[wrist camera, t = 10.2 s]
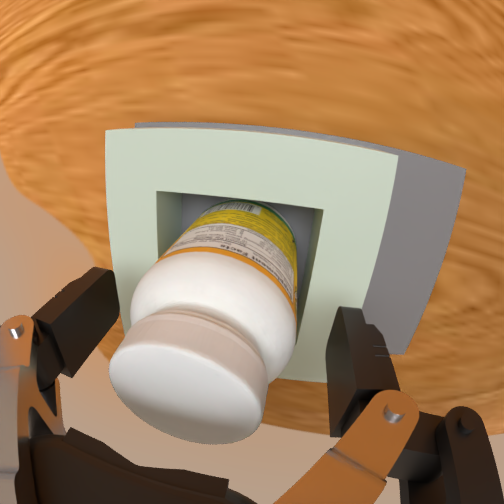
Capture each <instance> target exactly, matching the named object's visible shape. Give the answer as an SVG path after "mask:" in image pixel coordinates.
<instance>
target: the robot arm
mask: <svg viewBox="0 0 504 504" xmlns="http://www.w3.org/2000/svg"><path fill="white" fill-rule="evenodd" d="M119 312H120V304H119V298H118V292H117V286H116V279H115V274H114V272H113V271H112V270H108V269H103V268H98V267H93V268H91V269H90V270H89V271H88V272H87V273H85V274H84V275H83V276H82V277H81V278H79V279H76V280H74V281H72V282H70V283H69V284H68V285H67V286H65V287H64V288H63V289H62V291H61V292H58V293H57V294H56V295H55V297H53V298H52V299H51V300H49V301H48V302H47V303H46V304H45V305H44V306H43V307H42V308H41V309H39V310H38V311H37V312H36V313H35V314H34V315H33V316H32V317H31V318H30V317H28V316H25V315H18V316H14V317H12V318H10V319H8V320H6V321H5V322H4V323H3V324H2V325H1V326H0V504H257V503H256V502H254V501H252V500H251V499H249V498H248V497H246V496H244V495H242V494H240V493H238V492H236V491H233V490H231V489H229V488H228V482H229V479H224V478H219V477H214V476H209V475H205V474H200V473H195V472H191V471H187V470H180V469H163V468H152V467H143V466H138V465H135V464H133V463H132V462H130V461H129V460H127V459H126V458H124V457H123V456H122V455H120V454H118V453H117V452H116V451H114V450H113V449H111V448H110V447H109V446H107V445H106V444H105V443H103V442H101V441H99V440H97V439H95V438H92V437H90V436H88V435H86V434H84V433H82V432H80V431H78V430H75V429H73V428H71V427H70V429H69V430H68V432H67V433H66V431H65V428H64V425H63V418H62V409H61V397H60V384H59V380H58V378H57V376H58V375H59V374H60V373H62V374H64V375H66V376H68V377H71V378H73V376H74V375H75V374H76V372H77V371H78V370H79V368H80V367H81V366H82V364H83V363H84V362H85V360H86V359H87V358H88V356H89V355H90V354H91V353H92V351H93V350H94V349H95V347H96V346H97V345H98V344H99V342H100V341H101V340H102V338H103V337H104V336H105V335H106V333H107V332H108V331H109V330H110V328H111V327H112V326H113V325H114V323H115V322H116V321H117V319H118V316H119ZM325 361H326V374H327V388H328V403H329V422H330V437H341V439H340V440H339V441H338V443H337V444H336V445H335V446H334V447H333V448H332V449H331V448H330V449H329V450H328V451H327V452H326V453H325V454H324V455H323V456H322V457H321V458H320V459H319V460H318V461H317V462H316V463H315V465H314V466H313V467H312V468H311V469H310V470H309V471H308V472H307V473H306V474H305V475H304V476H303V477H302V478H301V479H300V480H298V482H296V483H295V484H294V485H293V486H292V487H291V488H290V489H289V490H288V491H287V492H286V493H285V494H284V495H282V496H281V497H280V498H279V499H278V500H277V501H276V502H274V503H273V504H374V502H375V501H376V500H377V498H378V497H379V495H380V494H381V492H382V491H383V489H384V487H385V485H386V483H387V481H386V480H385V478H386V476H388V477H392V478H397V479H399V483H400V500H401V504H504V498H503V493H502V488H501V483H500V479H499V475H498V471H497V466H496V463H495V459H494V455H493V452H492V448H491V445H490V442H489V438H488V435H487V432H486V429H485V426H484V423H483V421H482V419H481V417H480V416H479V415H478V414H477V413H476V412H475V411H474V410H472V409H470V408H468V407H464V406H459V407H455V408H453V409H451V410H450V411H449V412H448V413H447V415H446V416H445V417H441V416H437V415H432V414H428V413H424V412H420V411H419V409H418V406H417V404H416V403H415V401H414V400H413V399H412V398H411V397H410V396H408V395H407V394H405V393H403V392H401V391H400V387H399V384H398V381H397V377H396V374H395V371H394V367H393V364H392V361H391V358H389V352H388V349H387V348H386V343H385V340H384V337H383V334H382V333H381V332H380V331H379V330H378V329H377V328H376V326H375V325H374V324H366V321H365V318H364V315H363V312H362V309H361V308H353V307H344V306H339V307H338V309H337V312H336V315H335V318H334V322H333V325H332V328H331V332H330V335H329V338H328V341H327V346H326V353H325Z"/></svg>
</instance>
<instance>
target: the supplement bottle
mask: <svg viewBox="0 0 504 504" xmlns="http://www.w3.org/2000/svg"><path fill="white" fill-rule="evenodd" d="M130 320H131V326H132V327H131V328H130V329H129V330H128V332H127V334H126V336H125V338H124V339H123V341H122V342H121V344H120V345H119V347H118V348H117V350H116V352H115V353H114V355H113V356H112V358H111V361H110V364H109V377H110V380H111V383H112V386H113V388H114V390H115V392H116V393H117V395H118V397H119V398H120V399H121V400H122V402H123V403H124V404H125V405H126V406H127V407H128V408H129V409H130V410H131V411H132V412H133V413H134V414H136V415H137V416H138V417H139V418H140V419H142V420H143V421H145V422H146V423H148V424H149V425H151V426H153V427H155V428H156V429H158V430H160V431H162V432H164V433H167V434H169V435H171V436H174V437H177V438H180V439H184V440H187V441H191V442H195V443H202V444H227V443H233V442H237V441H240V440H243V439H245V438H247V437H248V436H250V435H251V434H253V433H254V432H255V430H257V428H258V427H259V425H260V423H261V421H262V417H263V413H264V408H265V403H266V396H267V392H268V384H269V383H271V382H272V381H273V380H275V379H276V378H277V377H278V376H279V375H280V374H281V373H282V371H283V370H284V369H285V367H286V366H287V364H288V362H289V361H290V359H291V356H292V354H293V350H294V347H295V341H296V330H297V246H296V240H295V235H294V233H293V230H292V228H291V227H290V225H289V223H288V222H287V220H286V219H285V218H284V217H283V216H282V215H281V214H280V213H279V212H278V211H277V210H275V209H274V208H273V207H271V206H269V205H268V204H265V203H263V202H261V201H257V200H249V199H240V198H232V199H227V200H224V201H221V202H219V203H216V204H214V205H213V206H211V207H210V208H208V209H207V210H206V211H205V212H203V213H202V214H201V215H200V217H199V218H198V219H197V220H196V221H195V222H194V223H193V224H192V225H191V226H190V227H189V228H188V229H187V230H186V231H185V232H184V233H183V234H182V235H181V236H180V237H179V238H178V239H177V240H176V241H175V242H174V243H173V245H172V246H171V247H170V248H169V249H168V250H167V251H166V252H165V253H164V254H163V255H162V256H161V257H160V258H159V259H158V260H157V261H156V262H155V263H154V264H153V266H152V267H151V268H150V269H149V270H148V271H147V272H146V273H145V274H144V276H143V277H142V278H141V280H140V281H139V283H138V285H137V287H136V289H135V291H134V294H133V297H132V301H131V308H130Z"/></svg>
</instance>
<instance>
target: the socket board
mask: <svg viewBox="0 0 504 504" xmlns="http://www.w3.org/2000/svg"><path fill="white" fill-rule="evenodd" d="M105 171H106V198H107V214H108V226H109V237H110V247H111V255H112V263H113V271H114V274H115V279H116V286H117V292H118V298H119V304H120V313H121V319H122V324H123V328H124V333H125V336H126V334H127V332H128V330H129V329H130V328H131V327H132V326H131V320H130V308H131V301H132V297H133V294H134V291H135V289H136V287H137V285H138V283H139V281H140V280H141V278H142V277H143V276H144V274H145V273H146V272H147V271H148V270H149V269H150V268H151V267H152V266H153V264H154V263H155V262H156V261H157V260H158V259H159V258H160V257H161V256H162V255H163V254H164V253H165V252H166V251H167V250H168V249H169V248H170V247H171V246H172V245H173V243H174V242H175V241H176V240H177V239H178V238H179V237H180V236H181V235H182V234H183V233H184V232H185V231H186V230H187V229H188V228H189V227H190V226H191V225H192V224H193V223H194V222H195V221H196V220H197V219H198V218H199V217H200V215H201V214H202V213H203V212H205V211H206V210H207V209H208V208H210V207H211V206H213V205H214V204H216V203H219V202H221V201H224V200H227V199H232V198H240V199H249V200H257V201H261V202H263V203H265V204H268V205H269V206H271V207H273V208H274V209H275V210H277V211H278V212H279V213H280V214H281V215H282V216H283V217H284V218H285V219H286V220H287V222H288V223H289V225H290V227H291V228H292V230H293V233H294V235H295V240H296V246H297V330H296V341H295V347H294V350H293V354H292V356H291V359H290V361H289V362H288V364H287V366H286V367H285V369H284V370H283V371H282V373H281V374H280V375H279V376H278V377H277V378H282V379H290V380H300V381H310V382H322V383H327V374H326V361H325V353H326V346H327V341H328V338H329V335H330V332H331V328H332V325H333V322H334V318H335V315H336V312H337V309H338V307H339V306H344V307H353V308H361V309H362V312H363V315H364V318H365V321H366V324H374V325H375V326H376V328H377V329H378V330H379V331H380V332H381V333H382V334H383V337H384V340H385V343H386V348H387V349H388V352H389V354H403V355H404V353H405V351H406V349H407V347H408V345H409V343H410V341H411V339H412V337H413V335H414V333H415V330H416V328H417V326H418V324H419V322H420V319H421V317H422V315H423V312H424V310H425V308H426V305H427V303H428V300H429V298H430V295H431V293H432V290H433V287H434V285H435V282H436V279H437V277H438V274H439V271H440V268H441V265H442V262H443V259H444V256H445V253H446V250H447V247H448V243H449V240H450V237H451V233H452V230H453V226H454V222H455V219H456V215H457V211H458V207H459V202H460V198H461V194H462V189H463V184H464V179H465V174H466V169H464V168H461V167H458V166H455V165H452V164H449V163H446V162H443V161H440V160H436V159H433V158H429V157H426V156H422V155H419V154H415V153H411V152H407V151H404V150H400V149H395V148H391V147H387V146H383V145H378V144H374V143H369V142H364V141H359V140H354V139H349V138H344V137H338V136H332V135H326V134H320V133H313V132H306V131H299V130H291V129H283V128H274V127H264V126H253V125H240V124H224V123H200V122H148V123H135V128H126V129H114V130H106V136H105Z"/></svg>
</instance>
